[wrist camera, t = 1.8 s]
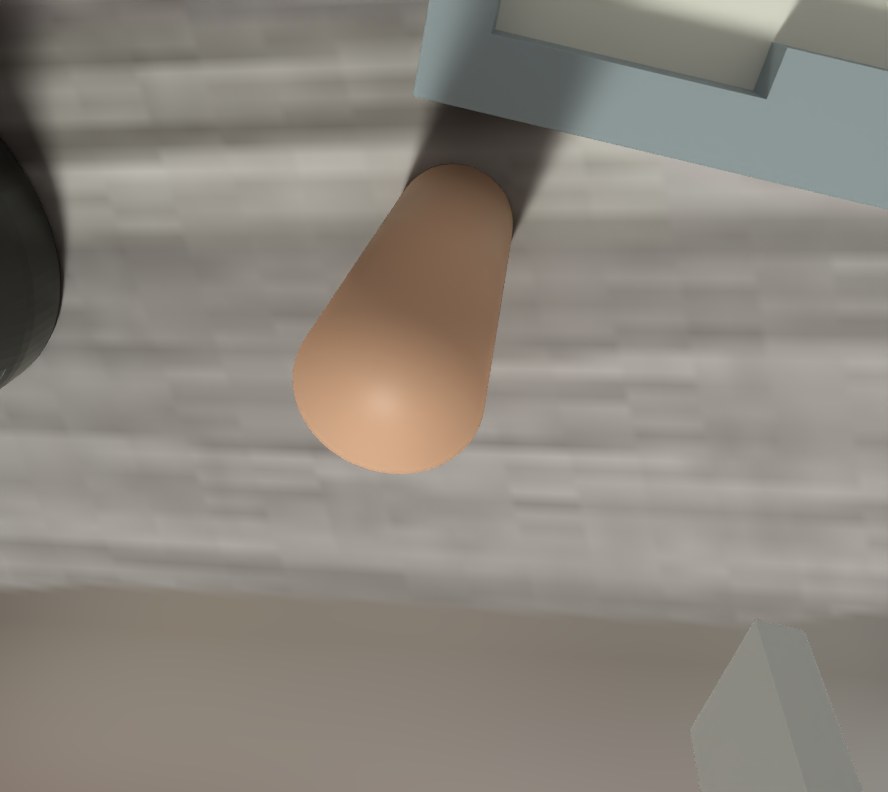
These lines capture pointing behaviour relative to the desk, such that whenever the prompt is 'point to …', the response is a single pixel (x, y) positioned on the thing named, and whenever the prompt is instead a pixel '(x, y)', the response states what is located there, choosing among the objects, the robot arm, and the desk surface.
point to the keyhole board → (682, 80)
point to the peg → (412, 328)
